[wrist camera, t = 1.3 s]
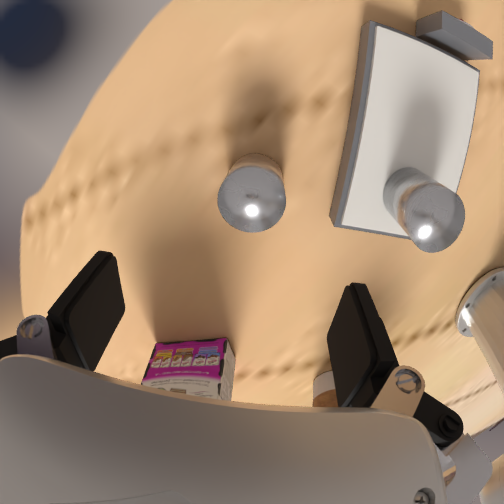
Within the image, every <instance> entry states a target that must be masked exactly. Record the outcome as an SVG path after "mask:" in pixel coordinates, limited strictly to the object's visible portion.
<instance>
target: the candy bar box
mask: <svg viewBox="0 0 504 504" xmlns="http://www.w3.org/2000/svg"><path fill="white" fill-rule="evenodd" d="M235 361H236V359H235V356H234V354H233V352H232V350H231V347H230V345H229V342H228V340H227V338H219V339H208V340H197V341H186V342H173V343H156V344H155V347H154V349H153V352H152V355H151V358H150V360H149V363H148V366H147V369H146V371H145V374H144V377H143V379H142V382H141V385H144V386H148V387H153V388H157V389H162V390H167V391H172V392H177V393H182V394H188V395H193V396H199V397H206V398H212V399H219V400H227V401H231V397H232V388H233V379H234V370H235Z"/></svg>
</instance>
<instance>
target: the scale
mask: <svg viewBox="0 0 504 504" xmlns="http://www.w3.org/2000/svg"><path fill="white" fill-rule="evenodd" d="M416 37H417V38H416ZM416 37H414V36H412V35H409V34H407V33H404V32H402V31H399V30H397V29H394V28H391V27H388V26H386V25H383V24H380V23H377V22H374V21H371V20H370V21H368V22H367V23H366V24H364V25H363V26H362V27H361V36H360V45H359V53H358V62H357V69H356V77H355V84H354V90H353V97H352V103H351V110H350V116H349V121H348V127H347V133H346V138H345V144H344V149H343V154H342V159H341V164H340V169H339V174H338V179H337V183H336V188H335V192H334V197H333V201H332V206H331V210H330V214H329V217H330V219H331V221H332V223H333V226H334V227H340V228H346V229H352V230H358V231H364V232H370V233H376V234H382V235H388V236H393V237H399V238H404V239H410V240H411V238H410V237H409V236H408V235H407V234H406V232H405V231H404V230H403V229H402V228H401V226H400V225H399V224H398V223H397V222H396V221H395V220H394V218H393V217H392V216H391V215H390V214H389V213H388V212H387V210H386V208H385V206H384V203H383V190H384V186H385V184H386V182H387V180H388V178H389V177H390V176H391V175H392V174H393V173H394V172H395V171H397V170H399V169H401V168H405V167H412V168H416V169H418V170H420V171H421V172H423V173H425V174H426V175H428V176H430V177H431V178H433V179H434V180H436V181H438V182H439V183H441V184H442V185H444V186H445V187H447V188H448V189H450V190H451V191H453V192H454V193H456V192H457V189H458V186H459V182H460V179H461V175H462V171H463V167H464V164H465V160H466V155H467V151H468V147H469V142H470V137H471V132H472V127H473V121H474V115H475V109H476V102H477V94H478V85H479V74H480V70H478V69H477V68H475V67H473V66H472V65H470V64H468V63H467V62H465V61H463V60H480V59H492V55H493V41H491V40H490V39H489V38H487V37H486V36H484V35H483V34H481V33H480V32H478V31H477V30H475V29H474V28H473V27H472V26H471V25H470V24H468V23H466V22H464V21H463V20H462V19H457V18H455V17H453V16H452V15H450V14H448V13H446V12H444V11H439V12H436V13H434V14H431V15H429V16H426V17H424V18H421V19H419V20H417V21H416ZM423 40H424V41H423ZM438 47H439V48H438ZM440 48H441V49H440ZM442 49H443V50H442ZM444 50H445V51H444ZM446 51H447V52H446ZM459 58H460V59H459Z"/></svg>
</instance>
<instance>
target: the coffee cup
mask: <svg viewBox="0 0 504 504" xmlns="http://www.w3.org/2000/svg"><path fill="white" fill-rule="evenodd" d="M313 407H338V403H337V397H336V390H335V384H334V377H333V371H328V372H325V373H323V374H321V375H319V376H318V377H316V378H315V380H314V382H313Z"/></svg>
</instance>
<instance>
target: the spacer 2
mask: <svg viewBox="0 0 504 504" xmlns="http://www.w3.org/2000/svg"><path fill="white" fill-rule="evenodd" d="M383 203H384V206H385V208H386V210H387V212H388V213H389V214H390V215H391V216H392V217H393V218H394V220H395V221H396V222H397V223H398V224H399V225H400V226H401V228H402V229H403V230H404V231H405V232H406V234H407V235H408V236H409V237H410V238H411V240H412V241H413V242H414V243H415V244H416V246H417V247H418V248H419V249H421V250H423V251H425V252H430V253H434V252H439V251H442V250H444V249H446V248H447V247H449V246H450V245H451V244H452V243H453V242H454V241H455V240H456V239H457V237H458V236H459V234H460V232H461V230H462V228H463V225H464V220H465V209H464V205H463V202H462V200H461V199H460V197H459V196H458V195H457V194H456V193H454V192H453V191H451V190H450V189H448V188H447V187H445V186H444V185H442V184H441V183H439V182H438V181H436V180H434V179H433V178H431V177H430V176H428V175H426V174H425V173H423V172H421V171H420V170H418V169H416V168H412V167H405V168H401V169H399V170H397V171H395V172H394V173H393V174H392V175H391V176H390V177H389V178H388V180H387V182H386V184H385V186H384V190H383Z"/></svg>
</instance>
